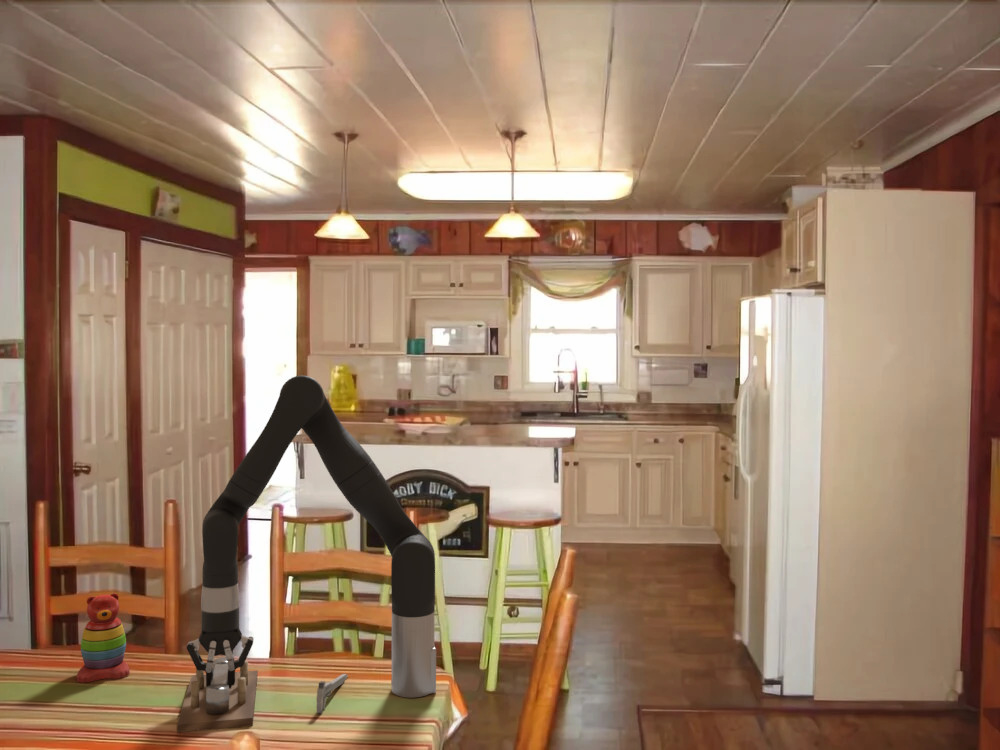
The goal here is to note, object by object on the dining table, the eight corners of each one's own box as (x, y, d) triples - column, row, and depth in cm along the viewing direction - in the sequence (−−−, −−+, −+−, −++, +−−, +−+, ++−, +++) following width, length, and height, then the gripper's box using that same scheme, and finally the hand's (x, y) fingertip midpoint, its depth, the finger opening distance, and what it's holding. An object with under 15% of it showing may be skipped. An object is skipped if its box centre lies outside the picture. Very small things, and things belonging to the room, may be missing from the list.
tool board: (257, 677, 196) (257, 648, 196) (252, 725, 171) (252, 692, 171) (191, 682, 193) (191, 652, 193) (177, 732, 168) (176, 698, 168)
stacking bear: (75, 684, 191) (75, 603, 191) (78, 668, 201) (78, 591, 200) (129, 677, 196) (129, 598, 195) (129, 662, 205) (129, 587, 204)
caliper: (321, 715, 177) (321, 685, 176) (316, 715, 177) (316, 684, 176) (348, 678, 197) (348, 650, 197) (343, 678, 197) (343, 650, 197)
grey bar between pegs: (234, 676, 192) (234, 656, 192) (228, 713, 173) (228, 690, 172) (213, 678, 191) (213, 658, 191) (204, 715, 172) (204, 692, 171)
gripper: (256, 598, 187) (256, 678, 187) (186, 602, 184) (187, 684, 184) (254, 608, 180) (254, 692, 180) (182, 613, 176) (182, 697, 177)
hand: (220, 687), depth 182 cm, fingers closed on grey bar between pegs, 3 cm apart
